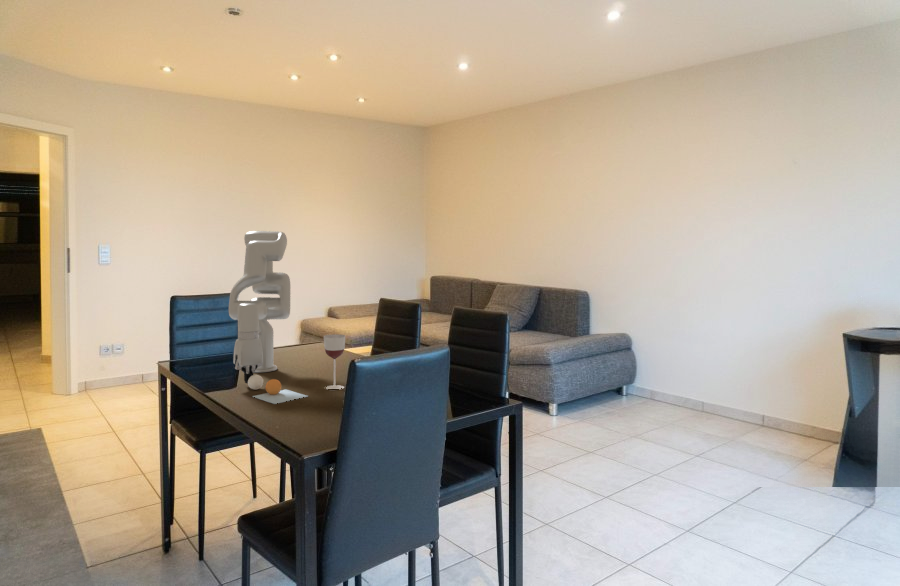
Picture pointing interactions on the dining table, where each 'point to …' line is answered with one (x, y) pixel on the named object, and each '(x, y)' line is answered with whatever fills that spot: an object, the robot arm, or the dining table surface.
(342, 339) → the wineglass
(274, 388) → the orange ball
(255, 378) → the cue ball
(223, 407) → the dining table surface
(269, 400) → the blue mark
